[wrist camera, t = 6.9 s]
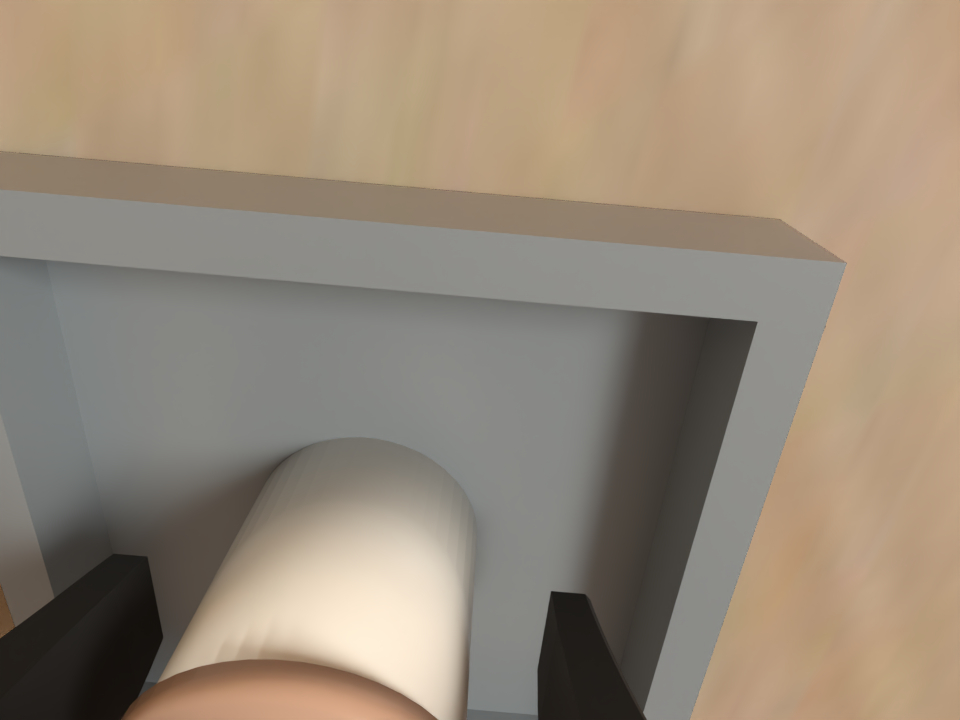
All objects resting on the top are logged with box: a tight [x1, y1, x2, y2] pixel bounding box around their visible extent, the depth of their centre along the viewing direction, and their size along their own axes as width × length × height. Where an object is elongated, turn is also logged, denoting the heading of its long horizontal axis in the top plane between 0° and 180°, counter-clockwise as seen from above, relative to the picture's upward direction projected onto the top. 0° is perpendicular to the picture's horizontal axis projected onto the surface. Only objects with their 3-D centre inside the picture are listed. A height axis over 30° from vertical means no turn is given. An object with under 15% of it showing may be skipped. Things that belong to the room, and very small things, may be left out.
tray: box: [0, 151, 847, 720], centre depth 13 cm, size 14×14×2 cm
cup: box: [120, 437, 477, 720], centre depth 11 cm, size 5×5×6 cm
